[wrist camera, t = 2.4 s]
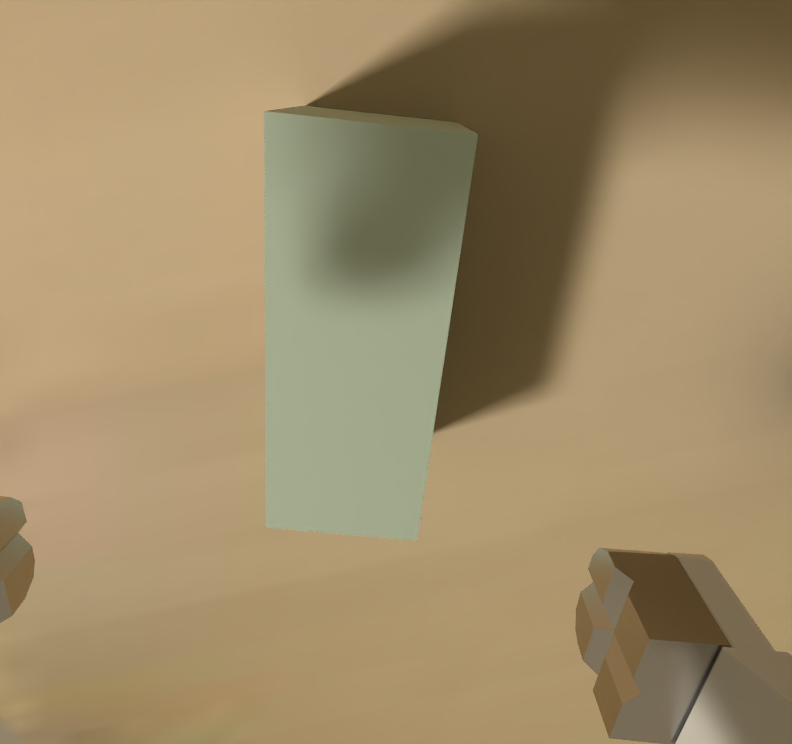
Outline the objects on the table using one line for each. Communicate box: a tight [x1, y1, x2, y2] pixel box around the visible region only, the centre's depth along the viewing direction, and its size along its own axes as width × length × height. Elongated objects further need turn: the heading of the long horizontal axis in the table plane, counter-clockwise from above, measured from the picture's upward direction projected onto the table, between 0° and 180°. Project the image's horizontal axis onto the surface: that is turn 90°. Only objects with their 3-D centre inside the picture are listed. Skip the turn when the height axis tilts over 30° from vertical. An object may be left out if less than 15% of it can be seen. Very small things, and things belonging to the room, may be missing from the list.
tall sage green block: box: [264, 106, 478, 541], centre depth 15 cm, size 10×4×5 cm, turn 174°
